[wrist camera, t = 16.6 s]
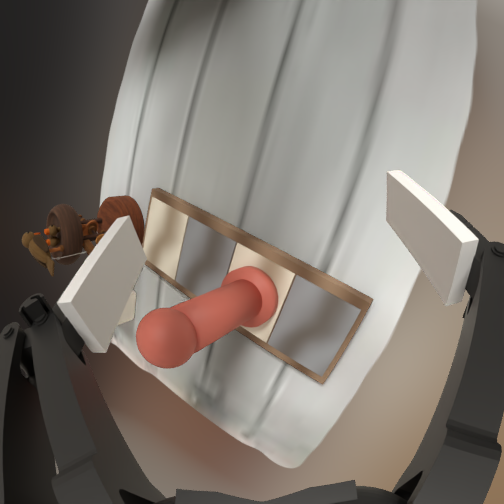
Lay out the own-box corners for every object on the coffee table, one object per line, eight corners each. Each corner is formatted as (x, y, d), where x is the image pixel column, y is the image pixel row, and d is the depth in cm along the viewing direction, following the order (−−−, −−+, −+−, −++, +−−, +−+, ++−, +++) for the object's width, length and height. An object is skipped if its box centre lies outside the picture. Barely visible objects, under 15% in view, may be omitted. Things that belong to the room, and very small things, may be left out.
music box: (154, 202, 44) (31, 232, 28) (151, 266, 48) (45, 308, 32) (105, 183, 51) (8, 203, 35) (105, 236, 55) (17, 264, 39)
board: (146, 258, 47) (139, 260, 46) (159, 188, 43) (151, 188, 41) (326, 378, 34) (322, 385, 32) (373, 298, 29) (370, 304, 28)
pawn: (221, 303, 38) (116, 351, 24) (237, 255, 35) (121, 290, 22) (265, 333, 35) (167, 402, 22) (287, 285, 32) (180, 345, 19)
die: (116, 302, 56) (92, 310, 50) (118, 277, 53) (92, 285, 48) (134, 318, 53) (108, 329, 48) (136, 293, 51) (109, 303, 46)
